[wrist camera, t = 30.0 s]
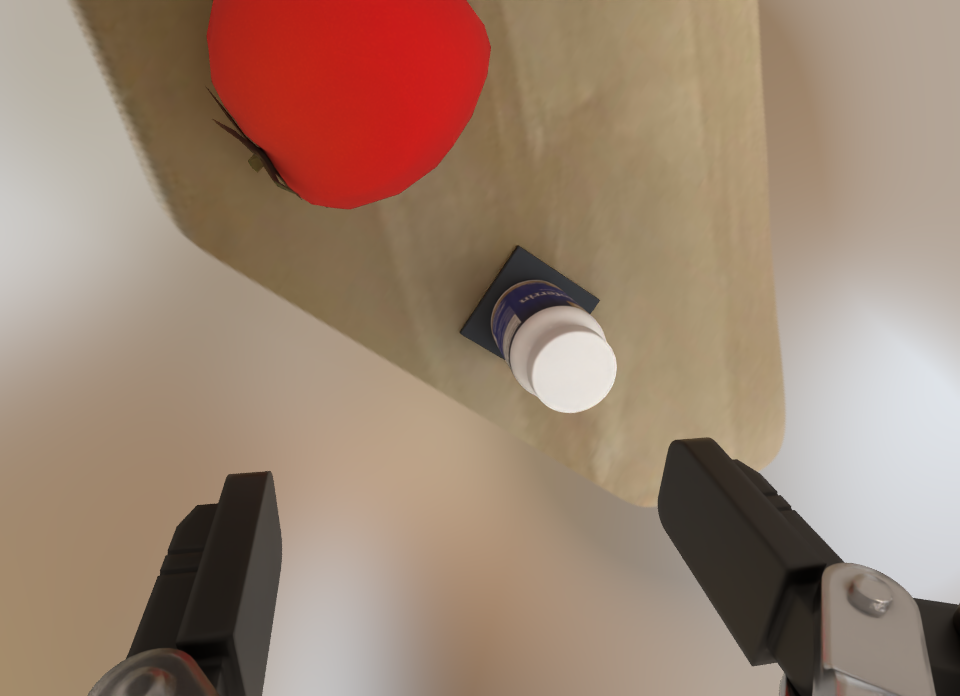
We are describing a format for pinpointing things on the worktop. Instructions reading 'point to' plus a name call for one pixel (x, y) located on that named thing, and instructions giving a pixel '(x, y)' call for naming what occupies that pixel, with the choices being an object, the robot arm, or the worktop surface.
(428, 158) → the tomato
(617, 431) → the worktop surface
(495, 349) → the rubber mat
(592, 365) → the pill bottle
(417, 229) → the worktop surface
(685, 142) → the worktop surface
